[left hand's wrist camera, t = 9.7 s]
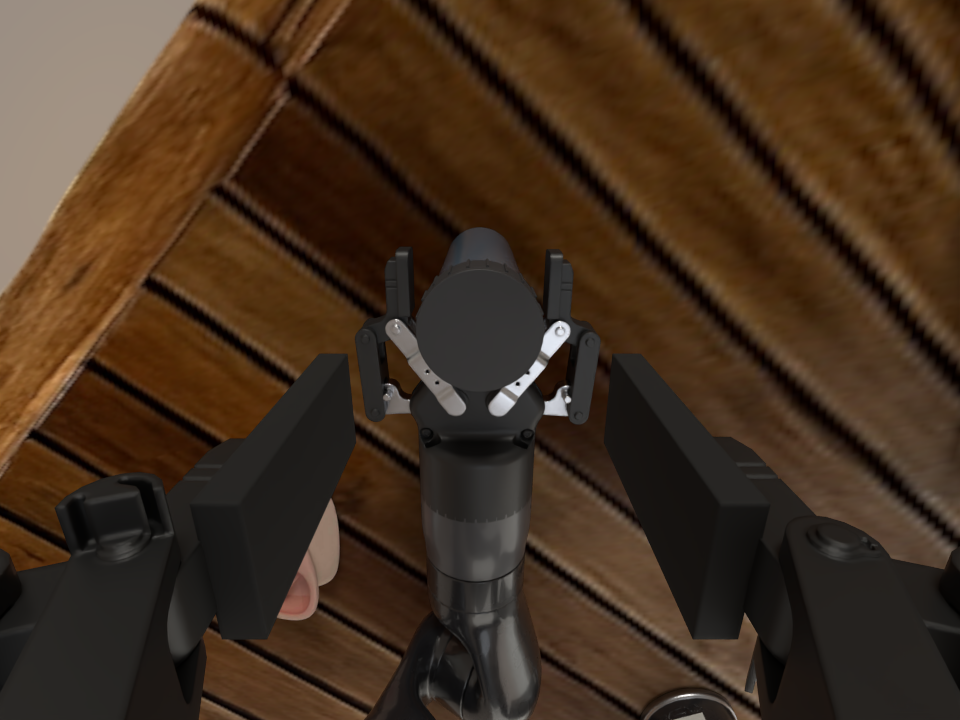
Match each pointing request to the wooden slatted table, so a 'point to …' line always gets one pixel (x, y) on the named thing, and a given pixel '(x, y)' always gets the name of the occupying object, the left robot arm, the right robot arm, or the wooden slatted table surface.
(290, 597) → the anatomical model
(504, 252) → the blue-grey cylindrical bottle
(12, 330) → the wooden slatted table surface
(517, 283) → the lid
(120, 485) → the left robot arm
